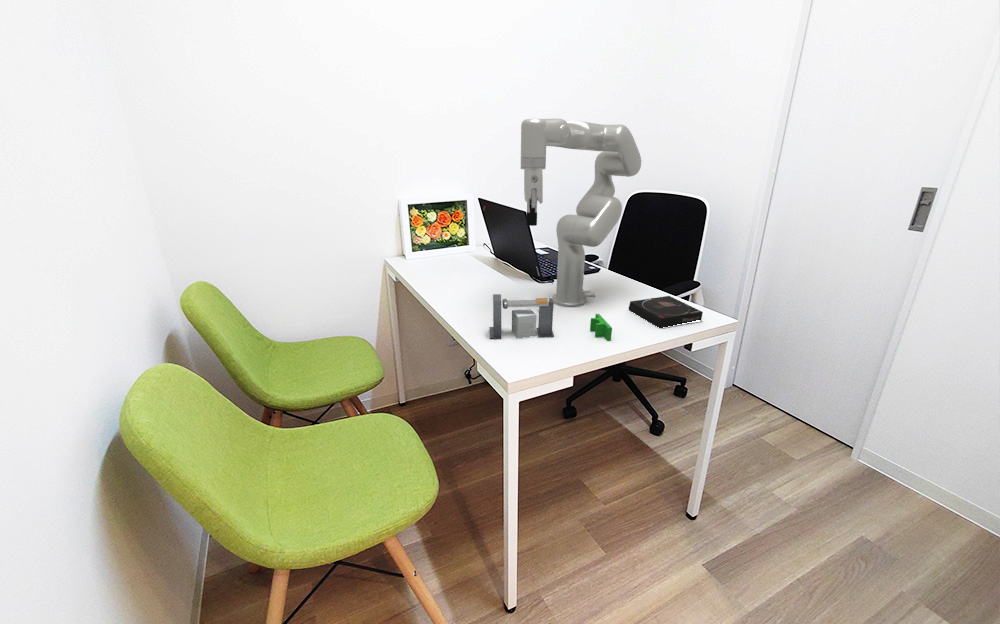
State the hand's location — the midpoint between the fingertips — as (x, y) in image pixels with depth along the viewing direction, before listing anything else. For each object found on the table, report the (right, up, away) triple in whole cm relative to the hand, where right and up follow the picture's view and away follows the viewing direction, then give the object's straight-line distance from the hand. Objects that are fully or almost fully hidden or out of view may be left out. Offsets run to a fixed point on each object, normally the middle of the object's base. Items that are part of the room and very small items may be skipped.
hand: (531, 225), depth 140 cm
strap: (-2, -26, -5) cm, 26 cm away
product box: (-3, -34, -1) cm, 35 cm away
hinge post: (-11, -34, -1) cm, 36 cm away
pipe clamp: (+21, -34, -1) cm, 40 cm away
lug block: (+4, -34, -1) cm, 34 cm away
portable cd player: (+46, -29, +12) cm, 56 cm away
